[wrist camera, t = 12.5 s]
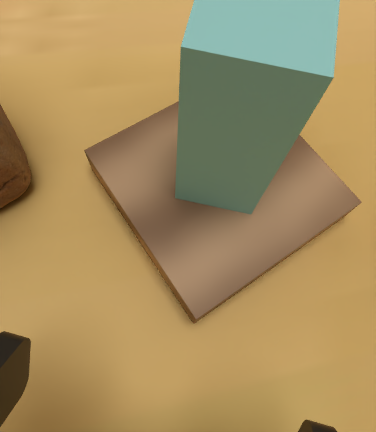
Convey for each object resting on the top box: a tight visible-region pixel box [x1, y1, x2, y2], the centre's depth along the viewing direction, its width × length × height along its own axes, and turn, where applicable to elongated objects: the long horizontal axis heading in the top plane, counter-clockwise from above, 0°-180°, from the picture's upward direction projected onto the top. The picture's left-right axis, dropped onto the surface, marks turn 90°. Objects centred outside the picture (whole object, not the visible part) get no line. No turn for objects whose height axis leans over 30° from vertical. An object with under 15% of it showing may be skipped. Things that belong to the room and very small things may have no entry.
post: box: [175, 0, 340, 214], centre depth 16 cm, size 4×4×11 cm
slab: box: [84, 101, 361, 323], centre depth 23 cm, size 12×12×3 cm
